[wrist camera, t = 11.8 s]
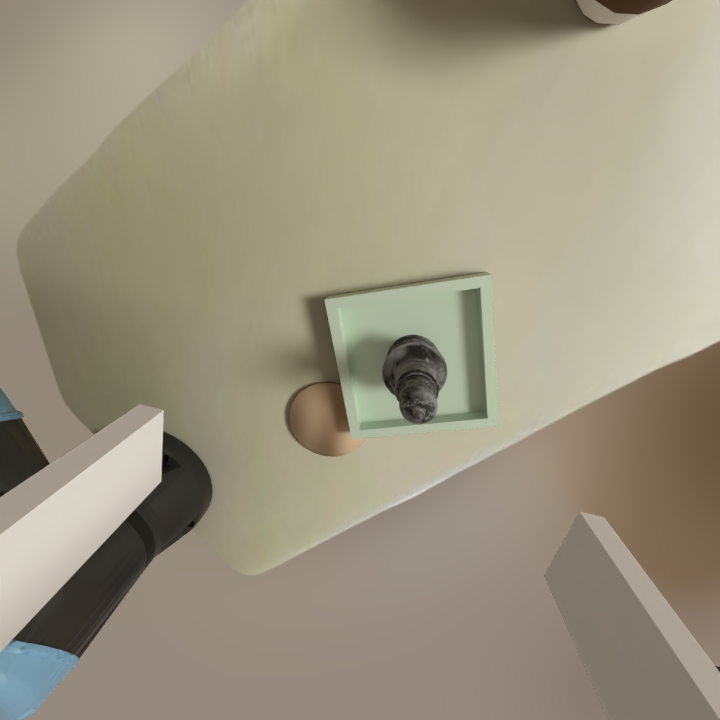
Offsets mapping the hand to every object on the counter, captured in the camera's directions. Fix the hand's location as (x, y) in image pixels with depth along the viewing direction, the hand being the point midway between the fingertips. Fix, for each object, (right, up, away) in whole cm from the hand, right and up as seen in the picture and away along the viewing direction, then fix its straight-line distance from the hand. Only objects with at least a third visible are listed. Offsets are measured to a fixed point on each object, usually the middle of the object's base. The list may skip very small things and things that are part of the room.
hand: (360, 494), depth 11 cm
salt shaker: (+5, +4, +25) cm, 26 cm away
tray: (+5, +4, +25) cm, 26 cm away
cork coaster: (-3, -2, +28) cm, 29 cm away
